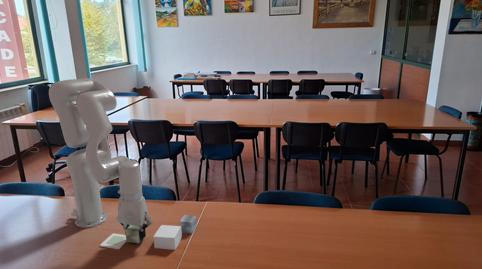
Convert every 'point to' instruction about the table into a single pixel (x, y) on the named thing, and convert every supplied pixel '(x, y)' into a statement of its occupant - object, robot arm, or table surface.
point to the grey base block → (167, 237)
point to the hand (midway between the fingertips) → (135, 237)
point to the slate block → (188, 224)
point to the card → (114, 241)
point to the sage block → (132, 234)
